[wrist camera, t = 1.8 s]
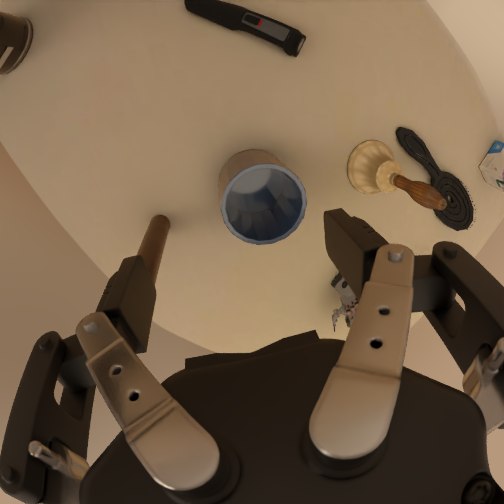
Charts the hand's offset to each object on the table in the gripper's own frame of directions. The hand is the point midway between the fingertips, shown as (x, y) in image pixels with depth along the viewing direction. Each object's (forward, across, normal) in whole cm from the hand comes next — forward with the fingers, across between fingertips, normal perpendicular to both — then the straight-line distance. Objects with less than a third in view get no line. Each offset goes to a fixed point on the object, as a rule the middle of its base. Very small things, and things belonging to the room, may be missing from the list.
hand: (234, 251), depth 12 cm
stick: (+26, +10, +8) cm, 29 cm away
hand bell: (+26, -21, +6) cm, 34 cm away
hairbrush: (+26, -35, +10) cm, 45 cm away
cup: (+26, -4, +5) cm, 27 cm away
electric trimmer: (+26, -7, -16) cm, 31 cm away
